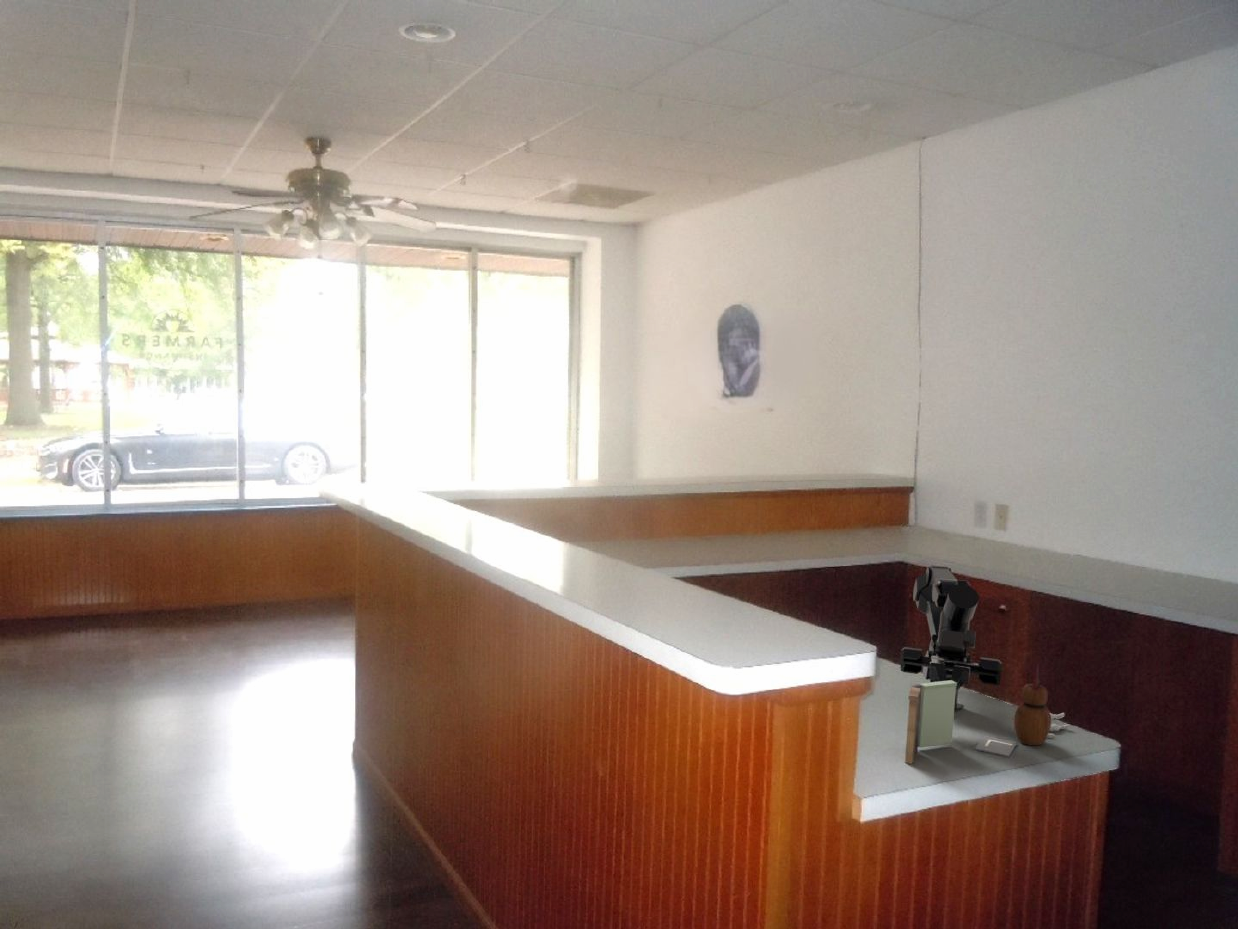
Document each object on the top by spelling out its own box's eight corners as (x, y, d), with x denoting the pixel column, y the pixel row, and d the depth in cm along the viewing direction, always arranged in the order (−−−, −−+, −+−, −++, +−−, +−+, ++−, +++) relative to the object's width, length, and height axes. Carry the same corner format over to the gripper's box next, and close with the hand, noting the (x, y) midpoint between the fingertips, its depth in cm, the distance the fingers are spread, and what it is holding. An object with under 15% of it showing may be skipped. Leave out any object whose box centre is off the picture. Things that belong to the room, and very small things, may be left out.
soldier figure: (1077, 740, 197) (1040, 730, 191) (1056, 751, 200) (1019, 741, 194) (1061, 704, 202) (1024, 693, 196) (1041, 715, 205) (1005, 704, 199)
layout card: (983, 737, 194) (984, 735, 194) (1016, 744, 191) (1016, 742, 191) (975, 749, 187) (975, 747, 187) (1008, 757, 184) (1009, 755, 184)
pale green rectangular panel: (920, 748, 185) (925, 686, 184) (914, 745, 186) (919, 683, 185) (952, 743, 188) (957, 682, 187) (946, 740, 189) (951, 680, 188)
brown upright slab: (906, 748, 186) (911, 682, 185) (917, 750, 186) (922, 684, 185) (902, 762, 180) (907, 694, 178) (914, 764, 179) (919, 696, 178)
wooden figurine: (1024, 734, 197) (1031, 659, 195) (1053, 743, 192) (1060, 667, 191) (1007, 741, 192) (1013, 665, 191) (1036, 751, 188) (1043, 673, 187)
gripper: (904, 607, 199) (894, 676, 189) (1005, 619, 192) (1000, 691, 183) (905, 636, 207) (896, 704, 198) (1002, 649, 200) (997, 720, 191)
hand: (946, 704), depth 192 cm, fingers closed
